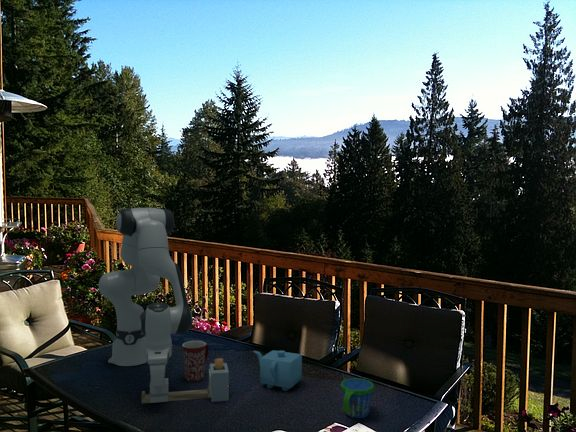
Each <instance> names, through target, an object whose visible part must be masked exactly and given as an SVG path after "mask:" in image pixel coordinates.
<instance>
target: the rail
mask: <svg viewBox="0 0 576 432" xmlns="http://www.w3.org/2000/svg"><path fill="white" fill-rule="evenodd" d="M199 399H200V400H202V399H203V400H204V399H211V397H210V388H209V386H207V389H195V390H181V391H168V402H174V401H175V402H176V401H178V402H179V401H189V400H190V401H191V400H199ZM141 404H151V403H150V393H146V391H145V390H144V391H143V390H142V391H141Z"/></svg>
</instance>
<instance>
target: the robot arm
mask: <svg viewBox="0 0 576 432" xmlns="http://www.w3.org/2000/svg"><path fill="white" fill-rule="evenodd" d="M115 224H116V229H117V231H118V233H120V234H121V235H122V238H121V239H122V242H121V248H120V259H121V260H122V261H123V263H125V264H126V265H128V266H130V267H131V268H130V269H129V268H128V269H124V270H122V269H121V270H114V271H110V272H107V273H104V274H102V275H101V277H100V278H99V281H98V290H99V292H100V294H101V296H103V297H104V298H105V299H107V300H108V301H110V302H111V304H112V306H113V307H114V309H115V313H116V327H117V328H116V330H115V331H116V332H115V337H116V339H115V340H114V341H113V342H112V351H111V352H112V355H111V357H110V358H109V359H108V360H107V363H108V364H114V365H115V366H120V367H132V366H138V365H139V366H140V365H143V364H146V363H147V365H149V374H150V380H151V383H152V387H156V394H157V395H158V394H161V393H162V386H163V384H164V378H165V375H166V369H167V368H166V367H167V364H168V361H169V359H170V357H172V355H173V348H172V347H173V345H172V344H173V341H172V337H171V335H174V334H175V335H185V334H186V333H188V332H189V331H190V330H191V329H192V327H193V320H194V319H193V318H194V317H193V314H192V311H191V308H190V305H189V302H188V297H187V293H186V292H187V291H186V289H185V283H184V280H183V277H182V273H181V270H180V267H179V265H178V263H177V262H174V261H173V259H172V258H171V256H170V249H169V240H168V239H169V238H168V235H169V234H171V233H172V232H173V230H174V228H175V216H174V214H173V212H172V211H171V210H169V209H165V208H155V207H134V208H133V207H132V208H131V207H125V208H122V209H120V210H119V212H118V213H117V215H116V220H115ZM161 278H162V279H165V280H167V281H168V282H169V283H170V284H171V286H172V290H173V295H174V299H175V304H176V305H175V306H169V304H167V303H165V302H153V303H150V304H148V305H147V307H146V309H144V308H143V307H142V306H141V305H140V304H137V303H135V302H133V301H132V296H138V295H146V294H149V293H151V292H154V291H156V290H158V288H159V287H160V284H161Z"/></svg>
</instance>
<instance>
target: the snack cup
mask: <svg viewBox="0 0 576 432" xmlns="http://www.w3.org/2000/svg"><path fill="white" fill-rule="evenodd" d="M374 385H375V384H373V382H372V381H370V380H367V379H364V378H359V377H351V378H346V379H344V380H343V381H341V383H340V389H341V391H342V398H343V399H342V400H343V404H342V410H343V412H344V413H345V414H346V415H347V416H348V417H350V418H351V419H365V418H366V417H368V415H369V414H370V413H369V412H370V408H371V402H372V396H373V395H372V394H373V391H374V389H375V386H374Z"/></svg>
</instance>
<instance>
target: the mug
mask: <svg viewBox="0 0 576 432" xmlns="http://www.w3.org/2000/svg"><path fill="white" fill-rule="evenodd" d="M181 346H182V355H183V364H184V365H183V368H184V379H185V381H187V382H192V383H194V382H199V381H202V380H203V379H204V378H205V365H206V362H207V359H208V357H209V351H210V350H209V349H210V348H209V345H208V344H207V343H206V342H205V341H203V340H190V341H185V342H184V343H182V345H181Z"/></svg>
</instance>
